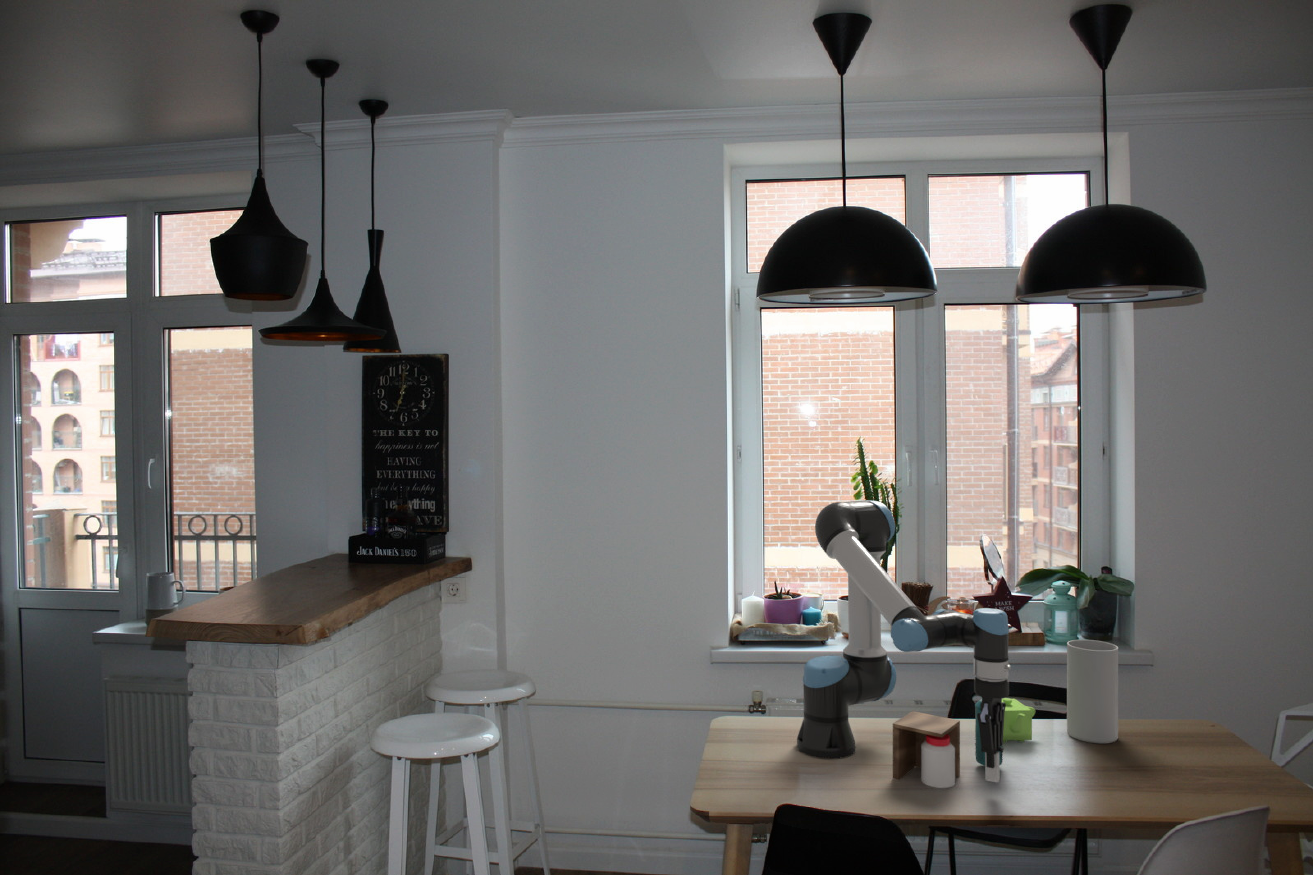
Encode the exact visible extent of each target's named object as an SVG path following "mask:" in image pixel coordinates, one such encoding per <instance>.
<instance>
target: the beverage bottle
mask: <svg viewBox="0 0 1313 875" xmlns="http://www.w3.org/2000/svg"><path fill="white" fill-rule="evenodd" d="M981 703H982V698H981V699H979V700H978V701H976V702H975V704H974V707H975V713H974V714H975V719H974V720H975V725H974V727H975V728H974V729H975V730H974V731H975V732H974V733H975V734H974V736H975V737H974V738H975V742H974V744H975V746H974V747H975V753H974V754H975V755H974V756H975V760H976V762H977V764H980V765H983V766H985V752H981V740H980V730H979V722H978V718H977V714H978V713H982V712H981V710H980V704H981ZM1000 748H1004V747H1003V745H1002V746H1000ZM998 752H999V767H1000V766H1002V764H1003V760H1004V758H1003V755H1004V754H1003V752H1000V751H998Z"/></svg>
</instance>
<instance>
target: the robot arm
mask: <svg viewBox="0 0 1313 875" xmlns="http://www.w3.org/2000/svg"><path fill="white" fill-rule="evenodd" d="M814 529H815V530H814V532H815V536H816V537H815V538H816V540H817V542H818V544H819V546H820V548H821V549H822V550H823V552H824V553H825V554H826V556H828V557H829V558H830V559H833V560H836V561H837V562H838V564H839V565H840V566H841V567H842V568H843V570H844V571H845V572H846V573H847V586H848V587H847V592H848V593H847V594H848V595H847V596H848V598H847V600H848V601H847V602H848V603H847V605H848V608H847V609H848V611H847V612H848V619H847V620H848V644H847V645H846V646H845V647H844V648H843V650H842V656H840V655H821V656H816V657H813V658H811V659H810V660H807V662H806V663H805V665H804V667H803V677H802V683H803V686H802V687H803V689H802V690H803V719H802V722H801V725H800V728H799V731H798V734H797V737H796V748H797V750H798V751H799V752H801V753H802V754H803V755H807V756H809V757H813V758H818V759H825V760H827V759H829V760H831V759H832V760H833V759H844V758H848V757H851V756H852V755H853V754H855V753H856V741H855V740H856V739H855V737H854V733H853V731H852V728H851V725H850V720H849V706H854V705H859V704H862V703H863V704H864V703H869V702H876V701H879V700H882V699H884V698H887V697H889V696H890V694H891V693H893V691H894V689H895V686H896V684H897V670H896V667H895V665H893V664H894V663H893V661H892V659H891V658H890V657H889V656H888V651H887V650H886V649H885V648H884V646H882V617H883V618H884V619H885V621H887V623H888V624H889V625H890V627H891V628H890V638H891V639H892V644H893V645H894V647H895V648H896V649H897V650H899V651H901V652H903V653H904V652H905V653H912V652H913V653H914V652H915V653H916V652H921V651H924V650H929V649H935V648H941V647H947V646H952V645H953V646H954V645H959V646H962V647H968V648H973V675H974V676H975V677H974V678H973V691H974V694H976V695H977V696H979V697H981V699H982V703H981V704H980V710H981V712H982V713H978V714H977V718H978V722H979V730H980V740H981V752H985V765H984V768H985V769H984V770H985V771H984V772H985V781H989V782H994V783H999V782H1000V781H1001V780H1000V779H1001V778H1000V776H1001V775H1000V766H999V752H998V751H1000V752H1002V753H1004V747H1003V748H1000V746H1003V744H1004V742H1003V729H1004V713H1005V707H1006V703H1005V702H1002V699H1003V698H1008V697H1009V695H1010V680H1009V679H1008V678H1009V674H1010V673H1009V672H1010V670H1011V669H1012V666H1011V665H1010V664H1009V660H1010V658H1009V637H1010V636H1009V635H1010V634H1009V632H1010V628H1009V619H1008V615H1007V612H1005V611H1004V610H1002V609H998V608H989V607H984V608H983V607H982V608H981V607H980V608H977V609H975V610H974V611H973V614H970V613H965V612H960V611H957V610H953V609H944V608H941V609H937V610H935V611H934V612H933V613H932V614H929V615H925V614H923V613H922V612H921V610H920V609H919V608H918V607H917V606H916V605H915V604H914V602H913V601H912V600H911V599H910V597H908V595H907V594H906V593H905V592H904V591H903V590H902V589H901V588H900V586H899V585H898V584H897V583H896V582H895V581H894V579H893V578H892V577H891V576H890V574H888V573H887V571H886V570H885V569H884V567H882V566H881V558H882V556H883V555H884V554H885V553H886V551H887V543H888V542H890V540H891V539H892V538H893V537H894V535H895V533H896V523H895V518H894V515H893V513H892V511H891V510H890V509H889V508H888V506H887V505H886V504H885V503H883V502H880V501H877V500H869V499H868V500H867V499H866V500H865V499H863V500H855V501H854V500H852V501H837V502H832V503H830V504H828V505H826V506H824V508H822V509H821V510H820V512H819V513H818V515H817V516H816V520H815V524H814Z"/></svg>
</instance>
